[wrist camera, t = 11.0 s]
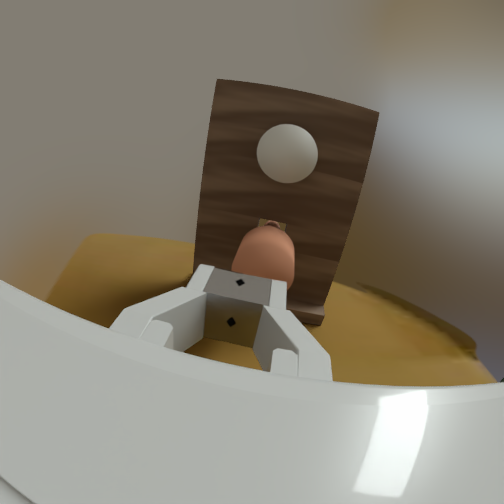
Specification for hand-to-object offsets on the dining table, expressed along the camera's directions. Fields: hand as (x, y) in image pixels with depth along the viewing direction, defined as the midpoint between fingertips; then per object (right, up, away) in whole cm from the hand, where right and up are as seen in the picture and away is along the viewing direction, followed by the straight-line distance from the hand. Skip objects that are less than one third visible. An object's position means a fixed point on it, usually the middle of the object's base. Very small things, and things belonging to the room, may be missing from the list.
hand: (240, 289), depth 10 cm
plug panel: (+1, -4, +25) cm, 25 cm away
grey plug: (+3, +9, +18) cm, 20 cm away
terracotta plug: (+2, 0, +18) cm, 18 cm away
